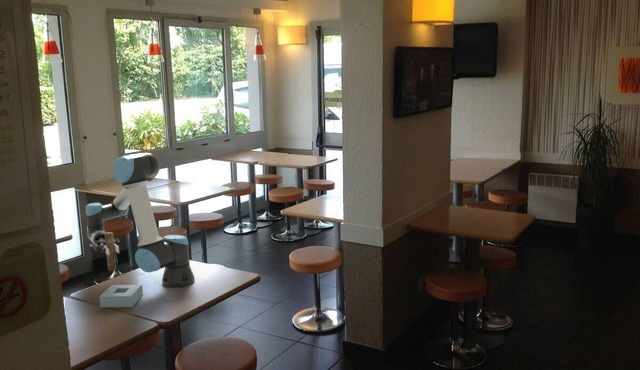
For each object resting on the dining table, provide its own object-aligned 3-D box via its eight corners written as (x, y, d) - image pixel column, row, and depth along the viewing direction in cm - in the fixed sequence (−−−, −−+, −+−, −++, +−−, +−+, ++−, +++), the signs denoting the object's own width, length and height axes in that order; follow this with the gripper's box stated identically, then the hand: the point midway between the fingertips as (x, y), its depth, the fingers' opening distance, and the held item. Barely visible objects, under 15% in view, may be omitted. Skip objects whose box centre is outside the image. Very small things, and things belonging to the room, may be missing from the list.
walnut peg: (117, 267, 264) (114, 232, 261) (114, 270, 260) (111, 234, 257) (110, 267, 264) (106, 232, 261) (106, 270, 261) (103, 234, 257)
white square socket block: (142, 294, 263) (141, 284, 262) (132, 307, 249) (131, 296, 248) (112, 295, 263) (111, 284, 262) (100, 307, 249) (99, 296, 248)
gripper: (119, 243, 280) (132, 255, 261) (83, 250, 272) (94, 262, 252) (118, 228, 279) (131, 239, 260) (82, 234, 270) (92, 246, 251)
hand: (113, 250), depth 256 cm, fingers closed on walnut peg, 3 cm apart
